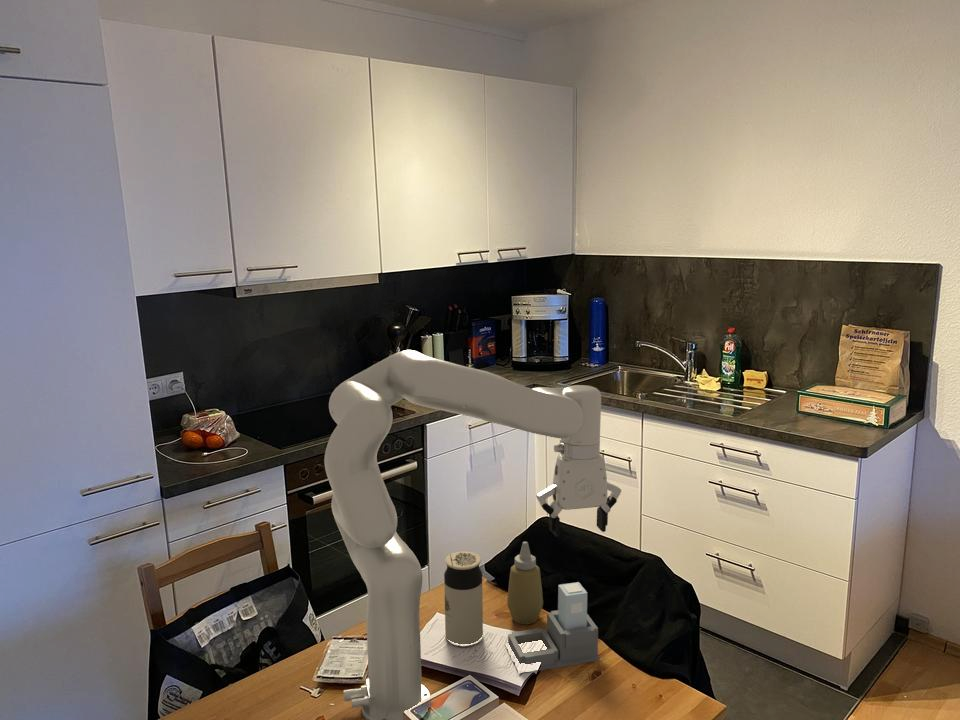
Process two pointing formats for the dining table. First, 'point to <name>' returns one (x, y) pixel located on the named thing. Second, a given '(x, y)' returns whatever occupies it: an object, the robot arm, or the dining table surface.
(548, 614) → the block
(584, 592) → the plug
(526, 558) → the squeeze bottle
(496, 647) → the dining table surface
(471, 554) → the travel mug
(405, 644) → the robot arm
